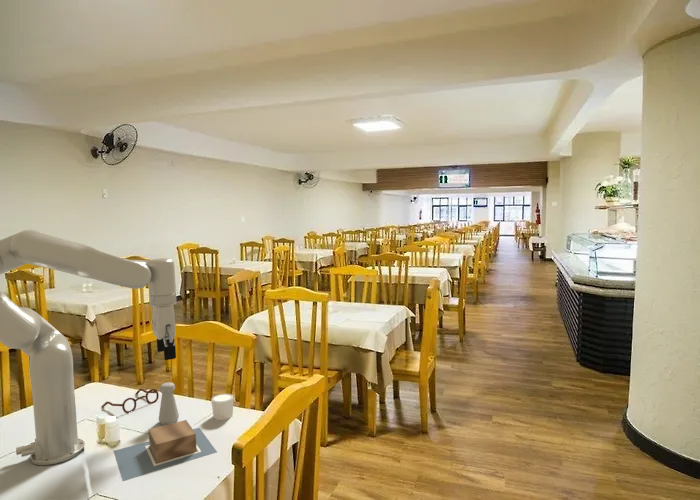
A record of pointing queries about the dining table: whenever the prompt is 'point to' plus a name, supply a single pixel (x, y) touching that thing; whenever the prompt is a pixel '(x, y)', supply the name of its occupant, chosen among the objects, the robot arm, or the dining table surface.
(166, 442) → the walnut block
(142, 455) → the board
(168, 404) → the salt shaker
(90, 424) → the dining table surface
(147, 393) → the glasses
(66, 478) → the dining table surface
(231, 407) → the white rounded cylinder
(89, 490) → the dining table surface
